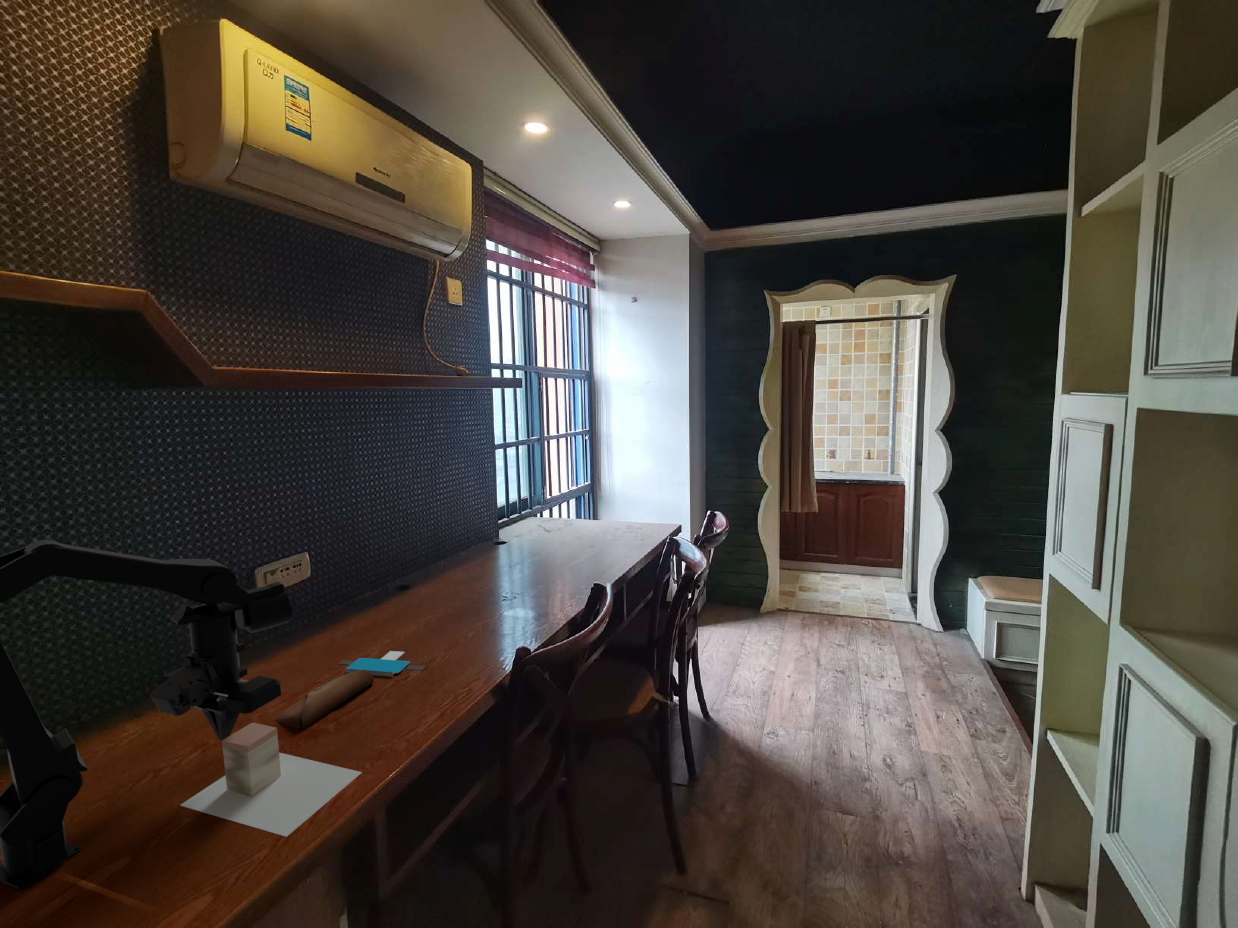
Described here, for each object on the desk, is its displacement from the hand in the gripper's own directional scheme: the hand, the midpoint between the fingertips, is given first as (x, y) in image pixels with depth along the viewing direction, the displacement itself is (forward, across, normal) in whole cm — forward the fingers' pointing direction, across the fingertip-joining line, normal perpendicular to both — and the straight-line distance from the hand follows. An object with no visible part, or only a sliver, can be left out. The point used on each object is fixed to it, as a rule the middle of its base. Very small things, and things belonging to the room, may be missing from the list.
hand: (224, 738), depth 90 cm
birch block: (+6, +6, 0) cm, 8 cm away
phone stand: (+7, -3, +39) cm, 40 cm away
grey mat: (+6, +10, 0) cm, 12 cm away
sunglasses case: (+7, -3, +22) cm, 23 cm away
